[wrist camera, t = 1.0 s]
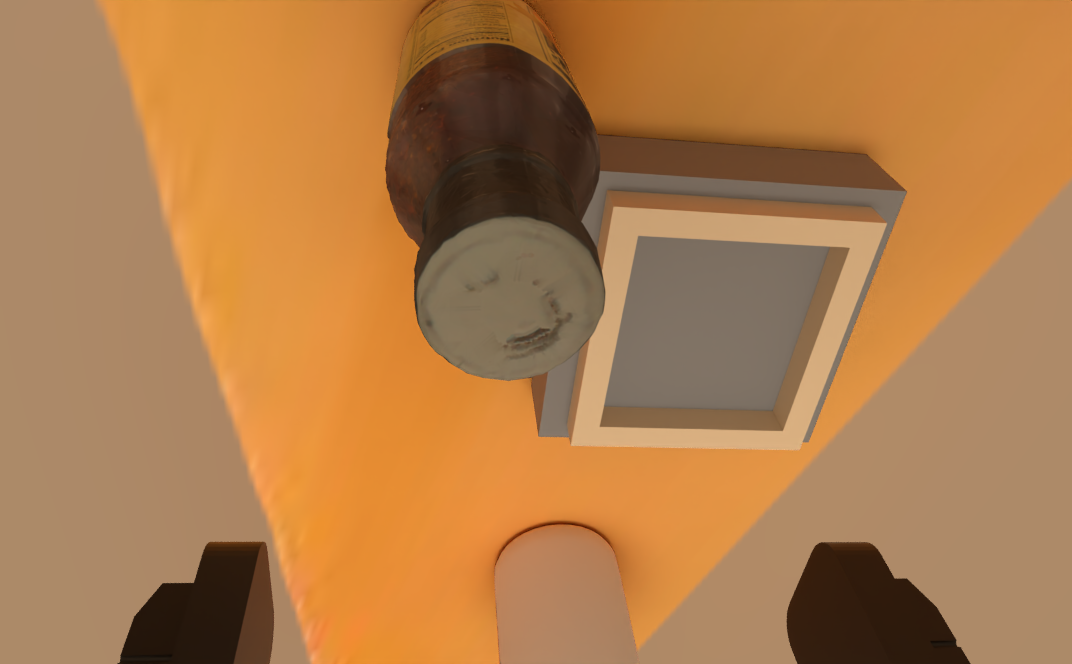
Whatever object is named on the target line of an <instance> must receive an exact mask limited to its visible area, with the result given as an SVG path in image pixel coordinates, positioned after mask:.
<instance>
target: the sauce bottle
mask: <svg viewBox="0 0 1072 664" xmlns="http://www.w3.org/2000/svg"><path fill="white" fill-rule="evenodd" d="M387 134H388V138H389V144H388V149H387V159H386V167H385V171H386V184H387V189H388V191H389V194H390V200H391V202H392V205H393V208H394V211H395V213H396V215H397V218H398V220H399V222H400V224H401V225H402V227H403V228H404V230H405V231H406V233H407V235H408V236H409V237H410V238H411V239H413V240H414V241H415V242H416V244H417V245H418V246H419V247H420V250H419V251H418V254H417V261H416V265H415V268H414V272H415V279H414V300H415V309H416V315H417V321H418V324H419V326H420V328H421V331H422V333H423V335H424V337H425V338H426V340H427V341H428V343H429V344H430V346H431V347H432V348H433V349H434V350H435V351H436V352H437V353H438V354H440V355H441V356H443V357H444V358H445V359H446V360H447V361H448V362H449V363H451V364H453V365H454V366H456V367H458V368H460V369H461V370H463V371H464V372H466V373H468V374H472V375H475V376H479V377H482V378H490V379H498V380H507V381H510V380H517V379H524V378H531V377H534V376H536V375H542V374H544V373H546V372H548V371H550V370H552V369H554V368H555V367H557V366H558V365H560V364H562V363H564V362H565V361H567V360H568V359H569V358H570V357H572V356H573V355H574V354H575V353H576V352H578V351H579V350H580V349H581V348H582V347H583V345H584V344H585V343H586V342H587V341H588V340H589V339H590V337H591V336H592V334H593V333H594V332H595V329H596V327H597V324H598V322H599V320H600V318H601V316H602V314H603V311H604V305H605V285H604V279H603V274H602V269H601V265H600V261H599V256H598V251H597V247H596V245H595V243H594V242H593V240H592V238H591V236H590V234H589V233H588V231H587V229H586V228H585V226H584V225H583V223H582V222H581V221H582V219H583V217H584V215H585V213H586V210H587V208H588V206H589V204H590V202H591V200H592V198H593V196H594V193H595V190H596V187H597V184H598V181H599V174H600V161H601V155H600V146H599V141H598V136H597V133H596V130H595V127H594V124H593V122H592V119H591V117H590V114H589V111H588V109H587V108H586V105H585V103H584V101H583V99H582V97H581V95H580V93H579V91H578V89H577V87H576V85H575V83H574V81H573V79H572V77H571V74H570V72H569V69H568V67H567V65H566V63H565V61H564V59H563V57H562V55H561V53H560V51H559V49H558V47H557V45H556V42H555V40H554V38H553V36H552V34H551V32H550V30H549V29H548V27H547V25H546V24H545V23H544V21H543V20H542V18H541V17H540V16H539V15H538V14H537V13H536V12H535V11H534V10H533V9H532V8H531V7H530V6H529V5H528V4H527V3H525V2H524V1H522V0H434V1H433V2H431V3H430V4H429V5H428V6H426V7H425V8H424V9H423V10H422V11H421V13H420V16H419V17H418V18H417V19H416V21H415V22H414V24H413V25H412V27H411V29H410V30H409V32H408V35H407V37H406V39H405V42H404V45H403V49H402V54H401V58H400V65H399V70H398V75H397V80H396V86H395V91H394V97H393V102H392V108H391V114H390V119H389V126H388V132H387Z"/></svg>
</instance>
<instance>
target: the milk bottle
mask: <svg viewBox="0 0 1072 664" xmlns="http://www.w3.org/2000/svg"><path fill="white" fill-rule="evenodd" d="M494 575H495V599H496V615H497V631H498V646H499V661H500V664H639V659H638V654H637V650H636V645H635V640H634V636H633V631H632V626H631V622H630V617H629V613H628V608H627V603H626V599H625V594H624V590H623V585H622V581H621V576H620V572H619V568H618V564H617V560H616V556H615V553H614V551H613V549H612V548H611V546H610V545H609V544H608V543H607V541H606V540H605V539H603V538H602V537H601V536H600V535H599V534H597V533H595V532H593V531H592V530H590V529H586V528H584V527H581V526H574V525H562V524H557V525H548V526H543V527H539V528H535V529H533V530H530V531H528V532H525V533H523V534H522V535H520V536H518V537H517V538H515V539H514V540H513V541H512V542H510V543H509V544H508V545H507V546H506V547H505V549H504V550H503V551H502V552H501V555H500V557H499V559H498V561H497V563H496V566H495V573H494Z"/></svg>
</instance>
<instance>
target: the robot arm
mask: <svg viewBox="0 0 1072 664" xmlns="http://www.w3.org/2000/svg"><path fill="white" fill-rule="evenodd" d="M273 630H274V609H273V600H272V591H271V581H270V571H269V562H268V552H267V546H266V543H265V542H209V543H208V544H207V545H206V547H205V549H204V552H203V555H202V558H201V561H200V565H199V568H198V571H197V575H196V578H195V581H194V583H163V584H162V585H161V586H160V587H159V588H158V589H157V591H156V592H155V593H154V594H153V595H152V597H151V598H150V599H149V600H148V601H147V602H146V604H145V605H144V606H143V607H142V608H141V610H140V611H139V612H138V613H137V614H136V616H135V617H134V619H133V622H132V625H131V627H130V630H129V633H128V636H127V639H126V642H125V644H124V647H123V650H122V653H121V659H120V663H118V664H269V663H270V657H271V651H272V642H273ZM787 632H788V638H789V642H790V646H791V648H792V651H793V653H794V656H795V659H796V661H797V664H970V662H969V661H968V659H967V657H966V656H965V654H964V652H963V651H962V649H961V647H957V645H956V639H955V637H954V635H953V634H952V632H951V630H950V629H949V627H948V625H947V624H946V622H945V620H944V619H943V617H942V615H941V614H940V612H939V610H938V609H937V607H936V606H935V605H934V604H933V603H932V602H931V601H930V600H929V599H928V598H927V597H925V596H924V595H923V594H922V593H921V592H920V591H919V590H918V589H917V588H916V587H915V586H914V585H913V584H912V583H911V582H910V581H909V580H908V579H895V578H894V577H893V575H892V573H891V571H890V570H889V568H888V566H887V564H886V563H885V561H884V559H883V558H882V555H881V554H880V552H879V551H878V549H877V548H876V547H875V546H873V545H872V544H870V543H867V542H846V543H845V542H824V543H823V542H822V543H819V544H817V545H816V546H815V548H814V549H813V551H812V553H811V555H810V558H809V560H808V562H807V565H806V567H805V569H804V572H803V574H802V576H801V578H800V581H799V583H798V585H797V588H796V590H795V592H794V595H793V597H792V599H791V601H790V604H789V607H788V611H787Z"/></svg>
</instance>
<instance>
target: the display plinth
mask: <svg viewBox="0 0 1072 664" xmlns="http://www.w3.org/2000/svg"><path fill="white" fill-rule="evenodd" d="M597 136H598V141H599V146H600V155H601V161H600V174H599V181H598V184H597V187H596V190H595V193H594V196H593V198H592V200H591V202H590V204H589V206H588V208H587V210H586V213H585V215H584V217H583V219H582V221H581V222H582V223H583V225H584V226H585V228H586V229H587V231H588V233H589V234H590V236H591V238H592V240H593V242H594V243H595V245H596V247H597V251H598V256H599V261H600V265H601V269H602V274H603V279H604V285H605V305H604V311H603V314H602V316H601V318H600V320H599V322H598V324H597V327H596V329H595V332H594V333H593V334H592V336H591V337H590V339H589V340H588V341H587V342H586V343H585V344H584V345H583V347H582V348H581V349H580V350H579V351H578V352H576V353H575V354H574V355H573V356H572V357H570V358H569V359H568V360H567V361H565V362H564V363H562V364H560V365H558V366H557V367H555V368H554V369H552V370H550V371H548V372H546V373H544V374H542V375H536V376H534V377H532V385H531V387H532V394H533V401H534V408H535V415H536V422H537V429H538V436H539V437H569V439H570V444H571V446H610V447H662V448H713V449H764V450H800V447H801V445H802V442H809V440H810V437H811V435H812V432H813V430H814V427H815V424H816V422H817V419H818V417H819V414H820V412H821V409H822V407H823V404H824V402H825V399H826V396H827V394H828V391H829V389H830V386H831V384H832V381H833V379H834V376H835V374H836V371H837V368H838V366H839V363H840V361H841V358H842V356H843V353H844V351H845V348H846V346H847V343H848V340H849V338H850V335H851V333H852V330H853V328H854V325H855V323H856V320H857V318H858V315H859V312H860V310H861V307H862V305H863V302H864V300H865V297H866V295H867V292H868V289H869V287H870V284H871V282H872V279H873V277H874V274H875V272H876V269H877V267H878V264H879V261H880V259H881V256H882V254H883V251H884V249H885V246H886V244H887V241H888V239H889V236H890V233H891V231H892V228H893V226H894V223H895V221H896V218H897V216H898V213H899V211H900V208H901V205H902V203H903V200H904V198H905V195H906V193H907V191H906V190H905V189H904V188H903V187H902V186H900V185H899V184H898V183H897V182H896V181H895V180H894V179H893V178H892V177H891V176H890V175H888V174H887V173H886V172H885V171H884V170H883V169H882V168H881V167H880V166H879V165H878V164H877V163H875V162H874V161H873V160H872V159H871V158H870V157H869V156H868V155H867V154H855V153H841V152H828V151H814V150H800V149H787V148H773V147H759V146H746V145H732V144H718V143H705V142H691V141H677V140H664V139H650V138H637V137H623V136H609V135H597Z"/></svg>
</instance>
